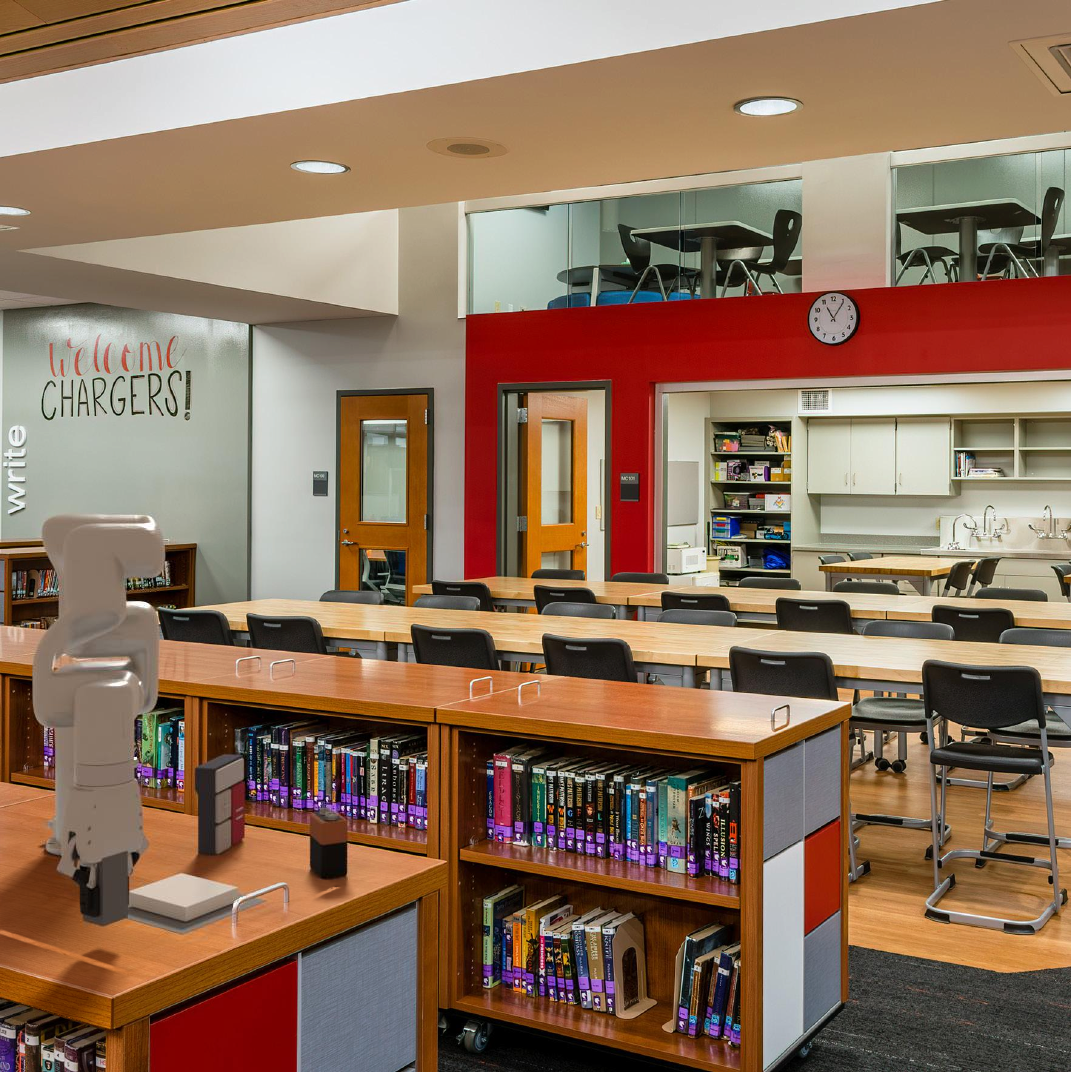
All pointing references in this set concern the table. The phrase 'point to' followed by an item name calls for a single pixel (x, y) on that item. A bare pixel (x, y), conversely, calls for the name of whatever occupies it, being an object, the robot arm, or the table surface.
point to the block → (112, 890)
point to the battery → (328, 844)
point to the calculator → (220, 803)
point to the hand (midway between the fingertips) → (104, 908)
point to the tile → (183, 897)
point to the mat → (191, 925)
